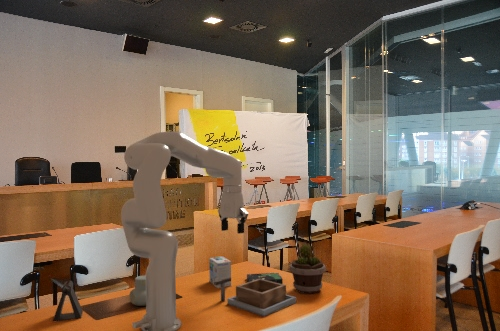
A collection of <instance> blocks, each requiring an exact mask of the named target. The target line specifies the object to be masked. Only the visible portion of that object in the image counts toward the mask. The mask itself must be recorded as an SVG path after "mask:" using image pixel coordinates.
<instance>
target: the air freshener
mask: <svg viewBox="0 0 500 331" xmlns="http://www.w3.org/2000/svg"><path fill="white" fill-rule="evenodd" d="M129 299H130V302H131V304H132V305H134V306H136V307H138V306H139V307H142V306H146V274H144V275H139V276H136V277H135V278H134V288H133V289H132V290H131V291H130V292H129Z"/></svg>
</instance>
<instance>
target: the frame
mask: <svg viewBox="0 0 500 331" xmlns="http://www.w3.org/2000/svg"><path fill="white" fill-rule="evenodd" d="M286 295H287V285H286V284H280V283H276V282H272V281H268V280H264V279H260V278H259V279H256V280H253V281H250V282H248V281H247V282H245V283H242V284H238V285H236V286H235V296H236V300H237V301H240V302H243V303H246V304H249V305H252V306H255V307H258V308H261V309H266V308H268V307H270V306H273V305H275V304H278V303H280V302H282V301H285V300H286Z"/></svg>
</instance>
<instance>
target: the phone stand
mask: <svg viewBox="0 0 500 331" xmlns="http://www.w3.org/2000/svg"><path fill="white" fill-rule="evenodd" d="M67 283H68V284H67ZM67 287H68V288H67ZM66 296H68V298H69V303H70V304H71V308H72V311H73V312H66V313H65V312H64V313H62V312H63V309H64V305H65V304H64V303H65V301H66V300H65V299H66ZM83 311H84V310H83V309H82V305H81V304H80V301H79V299H78V297H77V294H76V292H75V290H74V282H73V281H72V280H69V282H68V280H66V281H64V283H63V285H62V288H61V297H60V299H59V302H58V305H57V307H56V310H55V313H54V316H53V317H52V322H53V321H56V322H63V321H69V320H70V321H72V320H71V319H73V320H79V319H78V318H80V319H82V316H83Z"/></svg>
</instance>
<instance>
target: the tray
mask: <svg viewBox="0 0 500 331" xmlns="http://www.w3.org/2000/svg"><path fill="white" fill-rule="evenodd" d="M226 300H227V305H229V306H232V307H235V308H238V309H240V310H244V311H247V312H250V313H252V314H255V315H258V316H261V317H266V316H269V315H271V314H273V313H275V312H277V311H280V310H282V309H285V308H286V307H289V306H292V305H294V304H296V303H297V297H296V296H293V295H289V294H286V300H285V301H282V302H280V303H278V304H275V305H273V306H270V307H268V308H266V309H261V308H258V307H255V306H252V305H249V304H246V303H243V302H240V301H237V300H236V295H235V296H231V297H229V298H227V299H226Z"/></svg>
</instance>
